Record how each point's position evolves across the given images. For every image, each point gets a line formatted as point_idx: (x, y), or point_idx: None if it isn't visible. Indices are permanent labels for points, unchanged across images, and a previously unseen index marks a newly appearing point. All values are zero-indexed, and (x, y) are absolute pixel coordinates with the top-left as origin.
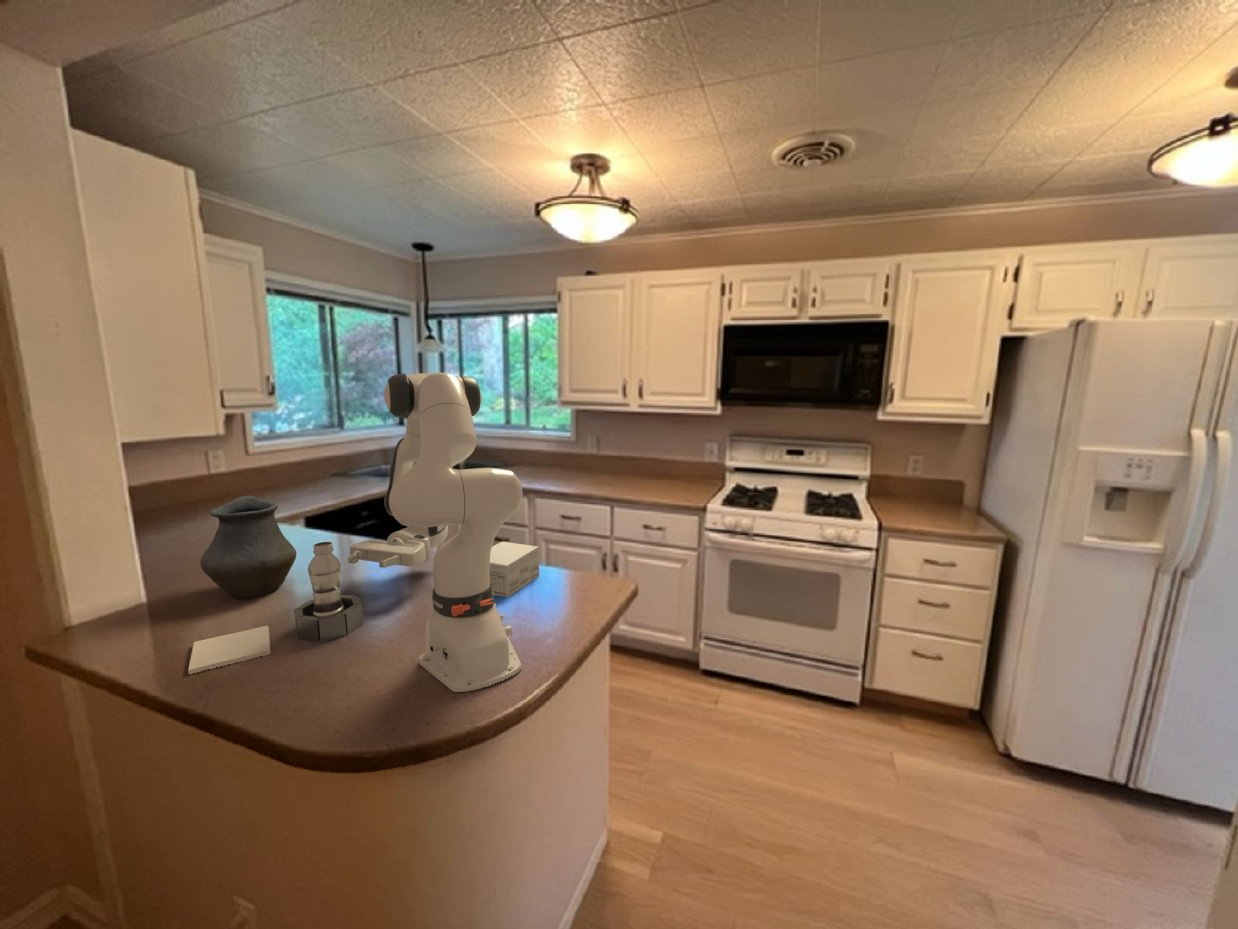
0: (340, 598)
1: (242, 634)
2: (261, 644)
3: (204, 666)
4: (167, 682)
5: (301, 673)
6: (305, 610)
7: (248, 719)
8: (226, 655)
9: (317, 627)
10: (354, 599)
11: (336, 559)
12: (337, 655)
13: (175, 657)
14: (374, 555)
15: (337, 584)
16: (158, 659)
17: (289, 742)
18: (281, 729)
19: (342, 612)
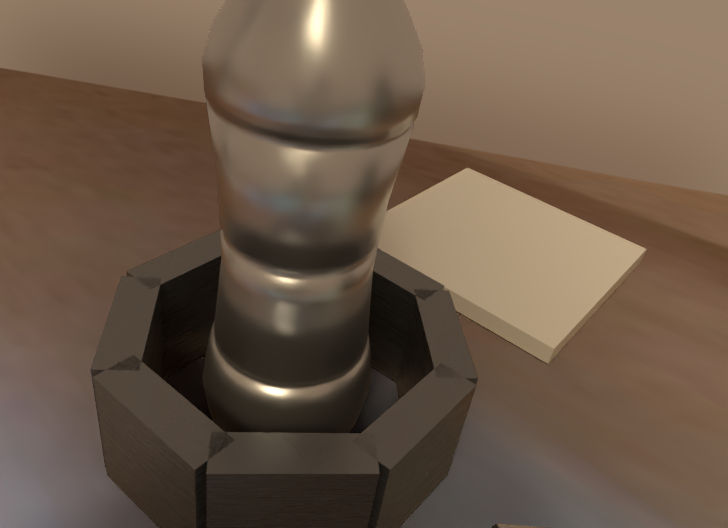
0: (221, 302)
1: (561, 290)
2: (413, 250)
3: (448, 178)
4: (476, 164)
5: (152, 190)
6: (416, 328)
7: (156, 101)
8: (451, 207)
9: None
10: (187, 422)
11: (229, 11)
12: (84, 256)
13: (607, 225)
14: None
15: (218, 192)
16: (635, 217)
17: (18, 71)
18: (59, 87)
19: (153, 283)
